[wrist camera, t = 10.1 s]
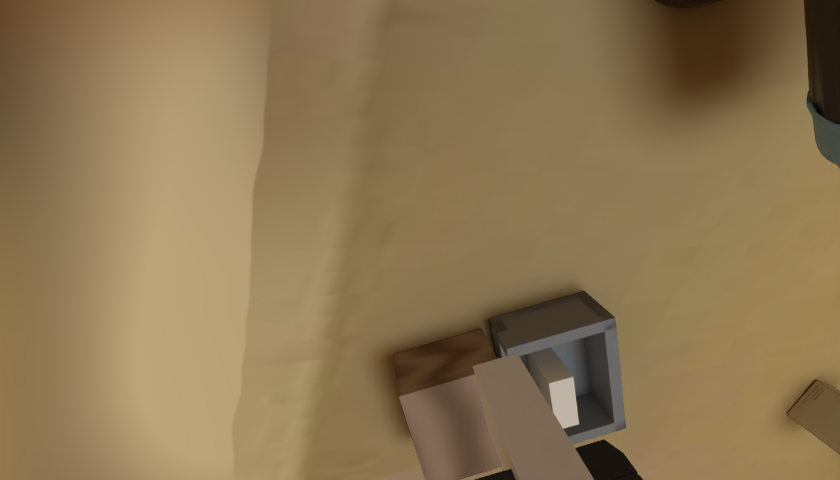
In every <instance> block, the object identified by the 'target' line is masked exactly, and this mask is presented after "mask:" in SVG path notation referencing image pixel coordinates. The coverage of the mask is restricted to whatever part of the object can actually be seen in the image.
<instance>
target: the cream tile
mask: <svg viewBox="0 0 840 480" xmlns="http://www.w3.org/2000/svg"><path fill="white" fill-rule="evenodd" d="M527 356H528V362H529V368H530V375H531V377H532V378H533V380H534V382H535V383H536V385H537V387H538V388H539V390H540V391H541V393H542V395H543V396H544V398H545V400H546V401H547V403H548V405H549V406H550V408H551V410H552V411H553V413H554V415H555V416H556V418H557V419H558V421H559V423H560V424H561V426H562V428H563V429H564V428H568V427H571V426H575V425H578V424H579V420H578V411H577V403H576V394H575V386H574V378H573V376H572V374H571V373H570V372H569V370H568V369H567V368H566V366H565V365H564V364H563V362H562V361H561V360H560V358H559V357H558V356H557V354H556V353H555V352H554V351H553V349H552V348H551V347H550V348H546V349H543V350H539V351H536V352H532V353H529V354H527Z"/></svg>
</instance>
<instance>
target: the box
mask: <svg viewBox="0 0 840 480" xmlns="http://www.w3.org/2000/svg"><path fill="white" fill-rule="evenodd" d="M489 321H490V326H491V331H492V335H493V340H494V345H495V349H496V354H497V359H499V358H502V357H506V356H509V355H513V354H516V353H517V354H518V355H519V357H520V359H521V360H522V362H523V364H524V365H525V367H526V368H527V370H528V372H529V373H530V368H529V362H528V356H527V354H529V353H532V352H536V351H539V350H543V349H546V348H550V347H551V348H552V349H553V351H554V352H555V353H556V354H557V356H558V357H559V358H560V360H561V361H562V362H563V364H564V365H565V366H566V368H567V369H568V370H569V372H570V373H571V374H572V376H573V378H574V386H575V394H576V403H577V411H578V420H579V424H578V425H575V426H571V427H568V428H564V431H565V433H566V434H567V436H568V438H569V439H570V441H571V442H572V444H575V443H579V442H582V441H585V440H589V439H592V438H595V437H599V436H602V435H605V434H609V433H612V432H615V431H619V430H622V429H625V428H626V424H625V414H624V403H623V393H622V382H621V372H620V362H619V351H618V341H617V330H616V320H615V317H614V316H613V315H612V314H610V313H609V312H608V311H607V310H606V309H605V308H603V307H602V306H601V305H600V304H599V303H598V302H597V301H595V300H594V299H593V298H592V297H591V296H590V295H588V294H587V293H586V292H585V291H583V292H580V293H576V294H573V295H569V296H566V297H562V298H559V299H555V300H552V301H548V302H545V303H541V304H538V305H534V306H531V307H527V308H524V309H520V310H517V311H513V312H510V313H506V314H503V315H499V316H496V317H492V318H489Z"/></svg>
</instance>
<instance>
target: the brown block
mask: <svg viewBox="0 0 840 480" xmlns="http://www.w3.org/2000/svg"><path fill="white" fill-rule="evenodd" d="M495 359H497V357H496V355H495V353H494V351H493V349H492V347H491V345H490V344H489V342H488V340H487V338H486V336H485V334H484V332H483V330H482V329H479V330H476V331H472V332H469V333H465V334H462V335H458V336H455V337H451V338H448V339H444V340H441V341H437V342H434V343H430V344H427V345H423V346H420V347H416V348H413V349H409V350H406V351H402V352H399V353H395V354H394V361H395V369H396V378H397V386H398V395H399V399H400V402H401V405H402V408H403V411H404V414H405V418H406V421H407V424H408V427H409V430H410V433H411V436H412V439H413V442H414V446H415V449H416V452H417V455H418V458H419V461H420V464H421V467H422V470H423V474H424V477H425V480H460V479H463V478H466V477H469V476H473V475H476V474H479V473H483V472H486V471H490V470H493V469H496V468H500V467H502V466H501V463H500V460H499V458H498V455H497V452H496V450H495V447H494V444H493V442H492V439H491V436H490V434H489V431H488V427H487V423H486V419H485V415H484V411H483V406H482V402H481V398H480V394H479V390H478V386H477V381H476V377H475V373H474V369H473V366H475V365H478V364H481V363H485V362H488V361H492V360H495Z"/></svg>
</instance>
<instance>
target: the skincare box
mask: <svg viewBox="0 0 840 480" xmlns="http://www.w3.org/2000/svg"><path fill="white" fill-rule="evenodd" d="M787 415H788V416H789V417H791V418H792V419H793V420H795V421H796V422H797V423H799V424H800V425H801V426H803V427H804V428H805V429H807V430H808V431H809V432H811V433H812V434H813V435H814V436H816V437H817V438H818V439H820V440H821V441H822V442H824V443H825V444H826V445H828V446H829V447H830V448H832V449H833V450H834V451H836V452H837V453H838V454H839V455H840V391H839V390H838V389H836V388H834V387H832V386H830V385H828V384H826V383H823V382H821V381H819V380H817V381H816V382H815V383H814V384H813V385H812V386H811V387H810V388H809V389H808V390H807V392H806V393H805V394H804V395H803V396H802V397H801V398H800V399H799V401H798V402H797V403H796V404H795V405H794V406H793V407H792V409H791V410H790V411H789V412H788V414H787Z"/></svg>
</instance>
